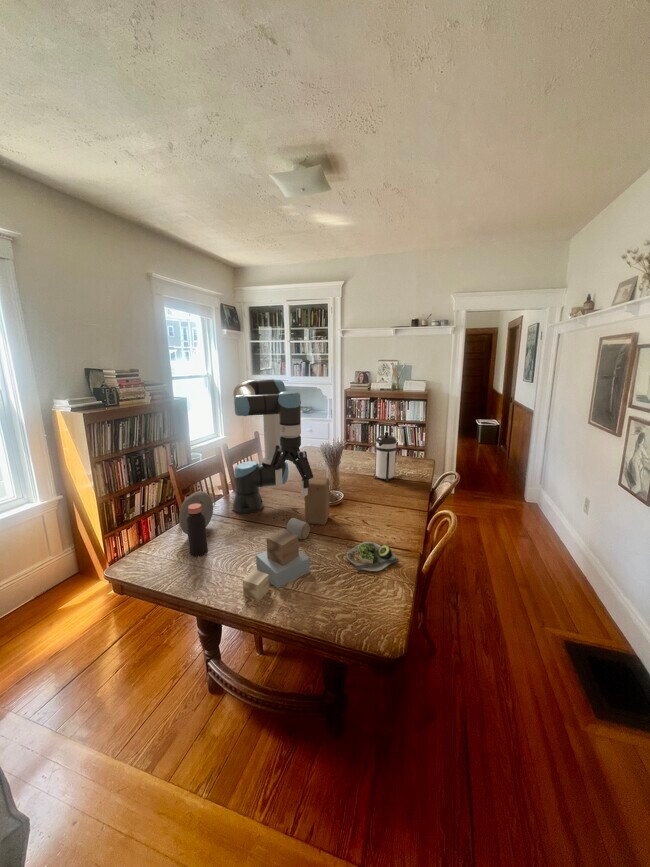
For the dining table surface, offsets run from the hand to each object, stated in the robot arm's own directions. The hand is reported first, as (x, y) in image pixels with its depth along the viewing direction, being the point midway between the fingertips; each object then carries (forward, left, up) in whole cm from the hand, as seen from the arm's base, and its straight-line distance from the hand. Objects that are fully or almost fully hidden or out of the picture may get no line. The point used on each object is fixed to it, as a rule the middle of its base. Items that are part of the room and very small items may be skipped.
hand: (291, 490), depth 127 cm
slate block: (+3, -8, -28) cm, 29 cm away
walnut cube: (+4, -8, -22) cm, 24 cm away
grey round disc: (-45, -14, -28) cm, 54 cm away
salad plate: (+24, +19, -28) cm, 42 cm away
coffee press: (-17, +99, -28) cm, 104 cm away
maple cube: (+5, -22, -28) cm, 36 cm away
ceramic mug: (-9, +13, -28) cm, 32 cm away
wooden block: (-13, +29, -28) cm, 42 cm away
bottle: (-31, -22, -28) cm, 47 cm away
